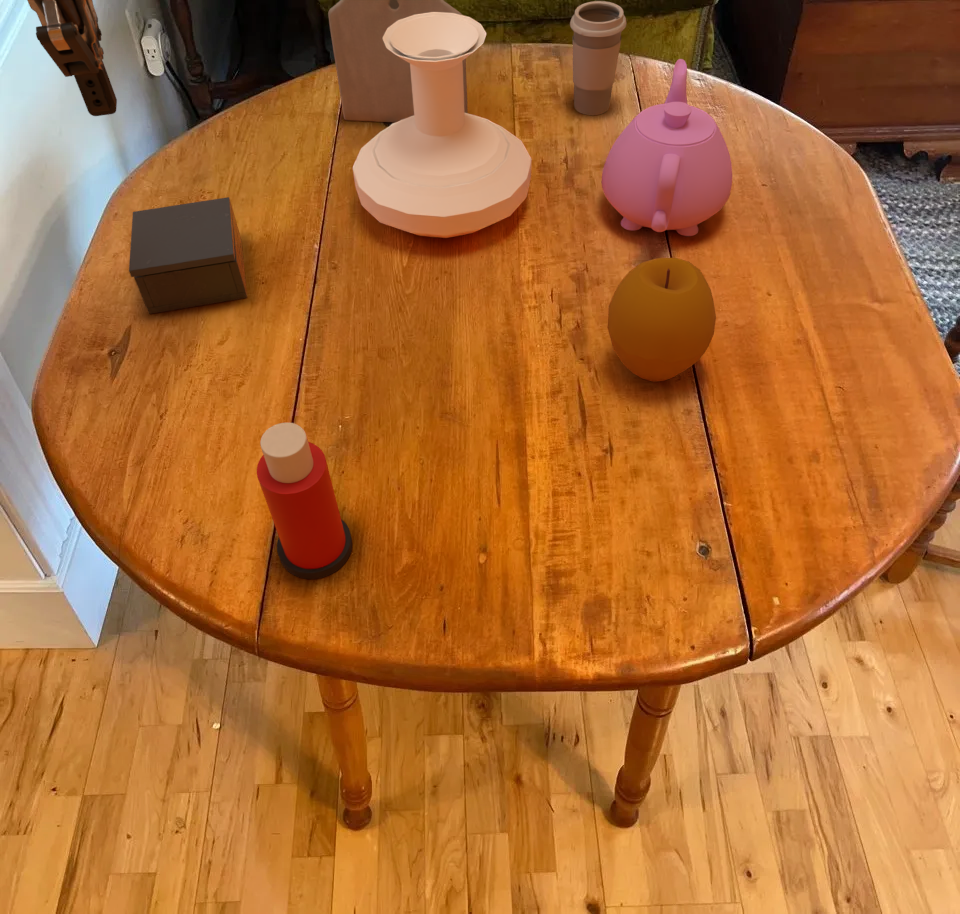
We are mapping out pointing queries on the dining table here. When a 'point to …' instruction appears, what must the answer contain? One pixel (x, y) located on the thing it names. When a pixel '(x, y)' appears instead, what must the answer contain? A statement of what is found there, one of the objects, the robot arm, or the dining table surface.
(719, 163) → the teapot
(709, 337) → the apple
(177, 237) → the box lid
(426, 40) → the candle holder
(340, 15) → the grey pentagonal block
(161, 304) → the box
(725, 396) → the dining table surface
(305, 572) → the black coaster
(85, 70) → the robot arm
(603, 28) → the cup
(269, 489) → the sauce bottle
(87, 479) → the dining table surface
